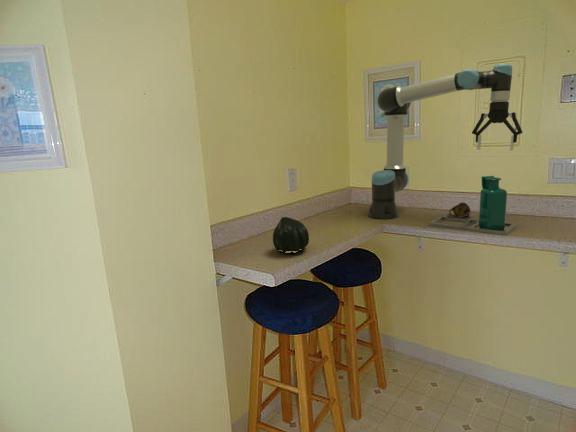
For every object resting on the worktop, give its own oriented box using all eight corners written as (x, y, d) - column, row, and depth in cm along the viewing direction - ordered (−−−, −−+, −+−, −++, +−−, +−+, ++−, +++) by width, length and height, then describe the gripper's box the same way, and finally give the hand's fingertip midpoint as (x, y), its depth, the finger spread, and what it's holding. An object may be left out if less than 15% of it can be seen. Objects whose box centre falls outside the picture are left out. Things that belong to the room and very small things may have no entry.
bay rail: (428, 225, 181) (428, 222, 180) (441, 218, 192) (441, 216, 191) (506, 235, 159) (506, 231, 159) (515, 226, 171) (515, 223, 170)
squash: (322, 237, 153) (300, 207, 157) (297, 248, 143) (275, 216, 147) (303, 254, 163) (283, 226, 166) (279, 266, 152) (258, 236, 156)
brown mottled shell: (477, 207, 188) (464, 199, 197) (455, 207, 185) (442, 200, 193) (473, 221, 191) (460, 212, 200) (451, 221, 188) (439, 213, 196)
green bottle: (506, 229, 166) (510, 177, 161) (487, 230, 165) (490, 179, 160) (493, 223, 175) (496, 175, 170) (475, 225, 175) (477, 176, 170)
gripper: (533, 100, 167) (527, 150, 172) (472, 103, 183) (468, 148, 188) (530, 99, 162) (524, 151, 167) (467, 102, 178) (463, 149, 182)
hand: (494, 150), depth 177 cm, fingers open, 13 cm apart
